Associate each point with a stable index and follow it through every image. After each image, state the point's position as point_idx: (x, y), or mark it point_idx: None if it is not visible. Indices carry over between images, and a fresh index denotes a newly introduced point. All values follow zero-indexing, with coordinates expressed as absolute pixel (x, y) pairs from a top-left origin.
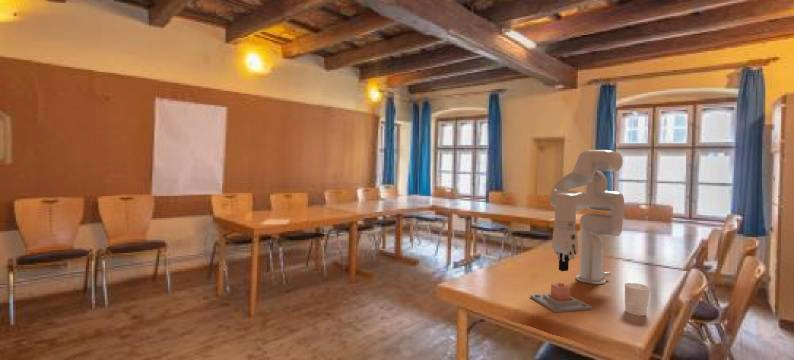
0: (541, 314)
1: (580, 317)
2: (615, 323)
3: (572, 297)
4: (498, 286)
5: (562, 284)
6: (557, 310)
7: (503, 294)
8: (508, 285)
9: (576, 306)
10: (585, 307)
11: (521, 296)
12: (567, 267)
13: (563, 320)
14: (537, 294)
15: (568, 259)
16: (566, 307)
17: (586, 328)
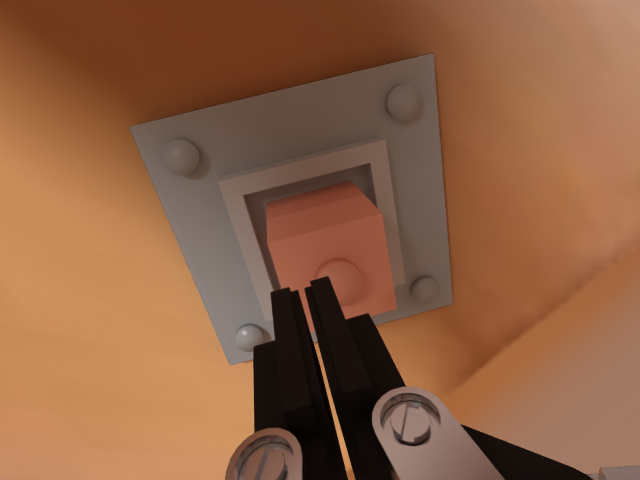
0: (457, 359)
1: (521, 199)
2: (636, 32)
3: (248, 113)
4: (57, 468)
5: (362, 281)
6: (450, 292)
7: (199, 458)
8: (13, 423)
9: (420, 169)
10: (436, 113)
11: (218, 391)
12: (373, 327)
13: (533, 292)
14: (241, 339)
15: (509, 470)
16: (430, 237)
17: (629, 229)
